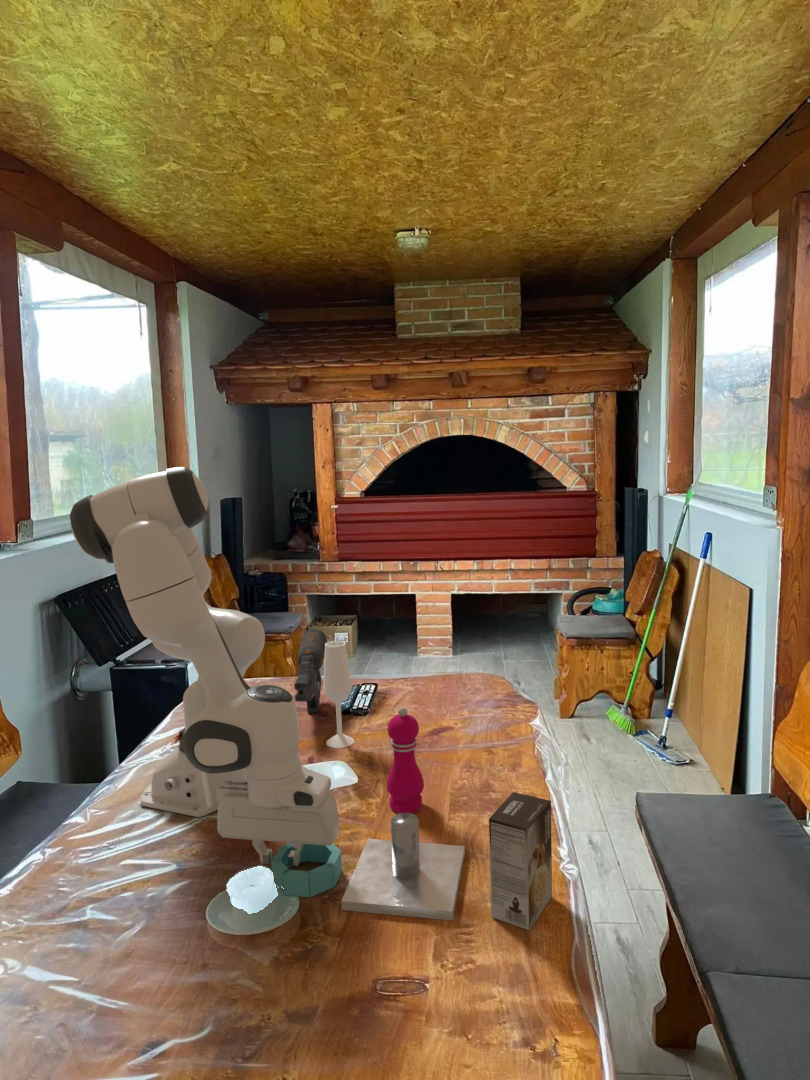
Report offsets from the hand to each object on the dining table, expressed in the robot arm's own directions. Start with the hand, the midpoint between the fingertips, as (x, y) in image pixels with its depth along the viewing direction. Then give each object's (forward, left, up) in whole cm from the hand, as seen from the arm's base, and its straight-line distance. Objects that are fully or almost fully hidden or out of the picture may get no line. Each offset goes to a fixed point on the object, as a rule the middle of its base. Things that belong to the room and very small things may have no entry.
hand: (280, 862), depth 117 cm
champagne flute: (-4, +51, -2) cm, 51 cm away
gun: (-16, +66, -2) cm, 68 cm away
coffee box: (+40, -3, -2) cm, 40 cm away
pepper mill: (+17, +24, -2) cm, 29 cm away
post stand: (+21, +1, -2) cm, 21 cm away
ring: (+5, 0, -2) cm, 5 cm away
